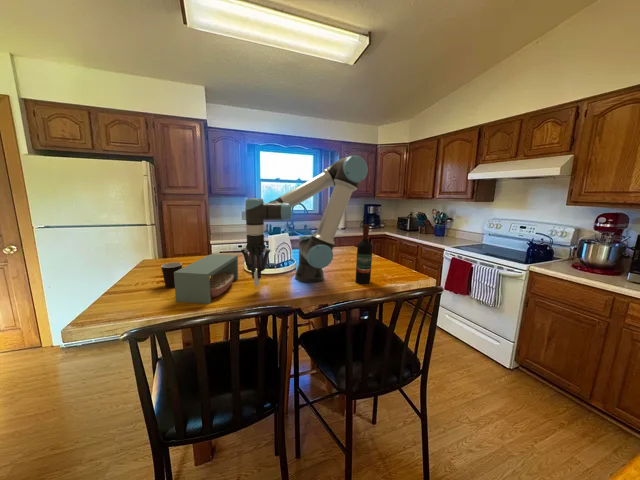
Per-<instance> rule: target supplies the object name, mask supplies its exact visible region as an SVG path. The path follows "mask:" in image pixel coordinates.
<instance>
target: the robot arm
mask: <svg viewBox="0 0 640 480" xmlns="http://www.w3.org/2000/svg"><path fill="white" fill-rule="evenodd" d="M368 168H369V166H368V163H367V162H366V160H365V159H364V158H363V157H361V156H359V155H349V156H347V157H342V158H339V159H338V160H336V161H335V162H333V163H332V164H331V165H329V166H328V167H326V168H324V169H323V170H322V172H321V173H320V174H318V175H316V176H314V177H312V178H311V179H309V180H307V181H305V182H304V183H302V184H300V185H298V186H297V187H295V188H293V189H291V190H290V191H287V192H286V193H284V194H283V195H281V196H279V197H277V198H276V199H274V200H270V201H269V202H268V203H267V202H264V199H263V198H260V197H259V198H257V197H256V198H255V197H253V198H252V197H250V198H246V200H245V225H246V227H245V232H246V245H245V247H244V248H242V249H241V251H240V252H241V253H242V255H243V257H244V262H245V266H246V269H247V270H248V271H250V272H251V277H252V279H253V285H254V287H259V286H260V280H261V278H262V272H264V271H265V270H266V267H267V263H268V258H269V254H271V253H270V252H271V249H269V248H267V247H266V244H265V234H264V233H265V221H287V220H291V218H292V209H293V208H294V207H297V206H298V205H300V204H301V203H303V202H305V201H306V200H308V199H310V198H312V197H314V196H315V195H317V194H319V193H320V192H322V191H324V190H326V189H327V188H329V187H331V188H333V191H332V192H331V195H330V198H329V200H328V203H327V206H326V207H325V210H324V212H323V215H322V217H321V220H320V223H319V224H318V228H317V229H316V232H315V233H313V234H309V235H306V234H305V235H300V236H299V238H298V265H297V268H296V271H295V275H294V276H295V277H294V278H295V280H296V281H298V282H301V283H310V284H311V283H318V282H321V281H323V280H324V277H325V274H324V270H323V268H327V267H328V266H330V264H331V263H332V261H333V259H334V252H333V250H334V247H335V243H336V242H335V241H334V239H335V236H336V233H337V231H338V229H339V226H340V224H341V221H342V218H343V216H344V214H345V212H346V209H347V206H348V204H349V201H350V198H351V197H352V194H353V192H355V191H357V190H358V187H359V185H360V183H361V182H363V181H364V180H365V179H366V177H367V176H368V172H369V169H368ZM263 253H264V255H263V259H262V254H263ZM249 255H250V256H249Z"/></svg>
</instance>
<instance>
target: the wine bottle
mask: <svg viewBox="0 0 640 480" xmlns="http://www.w3.org/2000/svg"><path fill="white" fill-rule="evenodd" d="M362 226H363V227H362V229H363V230H362V240H361V241H359V243H358V244H357V248H356V264H355V265H356V266H355V281H354V282H355V284H357V283H358V285H361V284H368V285H370V284H371V275H372V260H373V247H374V246H373V244H372V243H371V242H370V241H369V231H370V224H369V223H368V224H365V223H364V224H363V225H362ZM369 283H370V284H369Z"/></svg>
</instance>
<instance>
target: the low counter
mask: <svg viewBox="0 0 640 480" xmlns="http://www.w3.org/2000/svg"><path fill="white" fill-rule="evenodd" d="M238 255H239V254H238ZM238 255H236V254H217V253H210V254H208V255H206V256H204V257H202V258H200V259H198V260H196V261H194V262H192V263H190V264H188V265H185V266H184V267H183V266H182V268H181V269H179V270H177V271H175V272H174V282H175V287H174V293H175V302H176V303H177V302H178V303H190V304H205V305H207V304H208V305H210V304H211V302H212V300H211V299H212V297H211V296H210V280H211V279H212V278H213V277H214V275H216V274H219V273H232V274H234V279H233V281H234V280H235V281H237V280H239V257H238ZM210 278H211V279H210Z"/></svg>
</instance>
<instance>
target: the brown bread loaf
mask: <svg viewBox="0 0 640 480" xmlns="http://www.w3.org/2000/svg"><path fill="white" fill-rule="evenodd" d="M233 279H234V274H232V273H219V274H216V275H214V277H213V278H211V279H210V296H211V298H217V297H219V296H220V295H221V294H223V293H225V292H226V291H227V289H229V287H230V286H231V285H232V284H233V281H234V280H233Z"/></svg>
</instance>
